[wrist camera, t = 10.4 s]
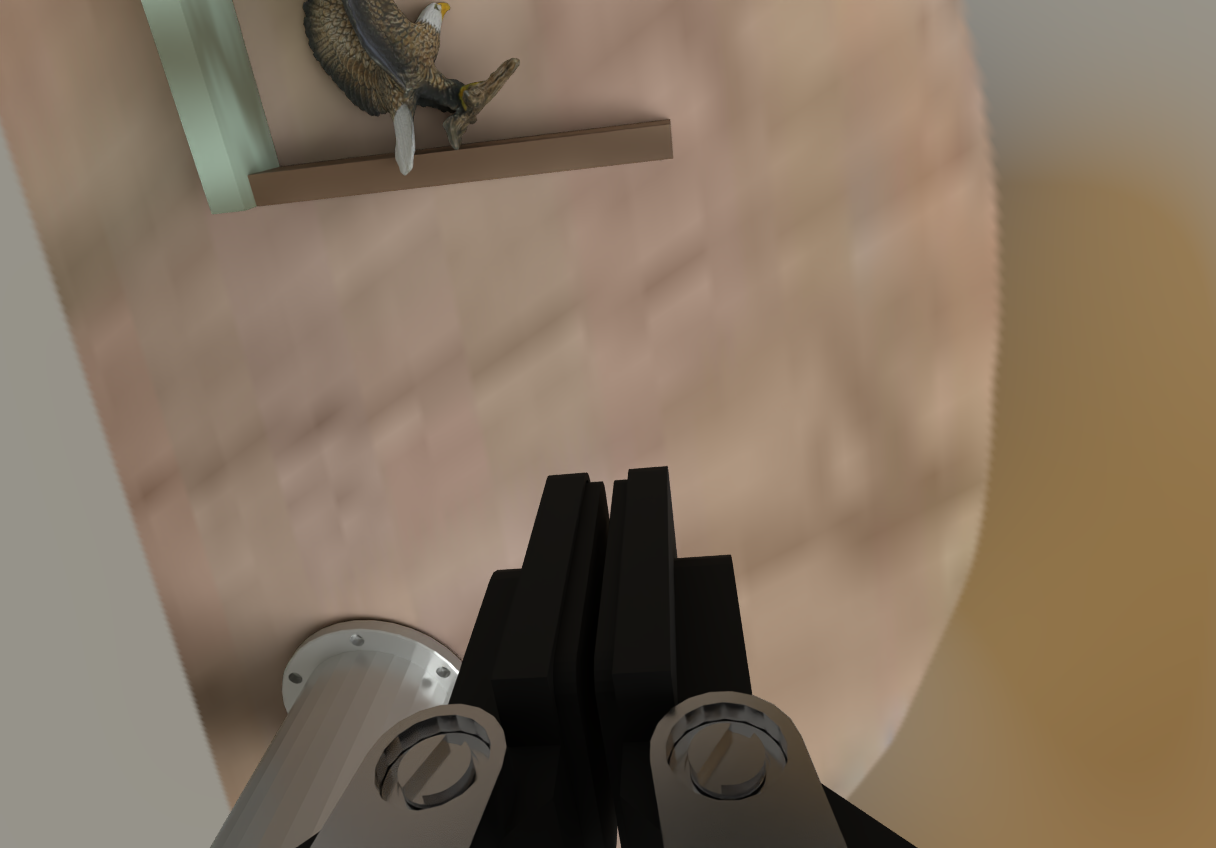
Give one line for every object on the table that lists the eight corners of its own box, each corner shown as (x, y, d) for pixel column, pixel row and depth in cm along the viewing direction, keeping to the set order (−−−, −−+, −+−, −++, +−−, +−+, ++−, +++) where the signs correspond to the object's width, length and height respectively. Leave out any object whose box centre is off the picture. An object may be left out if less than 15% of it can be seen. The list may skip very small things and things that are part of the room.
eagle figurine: (557, 9, 30) (357, -178, 27) (491, 112, 26) (249, -90, 23) (471, 123, 36) (298, -18, 33) (408, 221, 32) (204, 73, 29)
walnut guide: (672, 150, 33) (673, 161, 30) (258, 199, 36) (212, 214, 32) (646, -186, 28) (643, -223, 25) (165, -106, 30) (98, -129, 27)
